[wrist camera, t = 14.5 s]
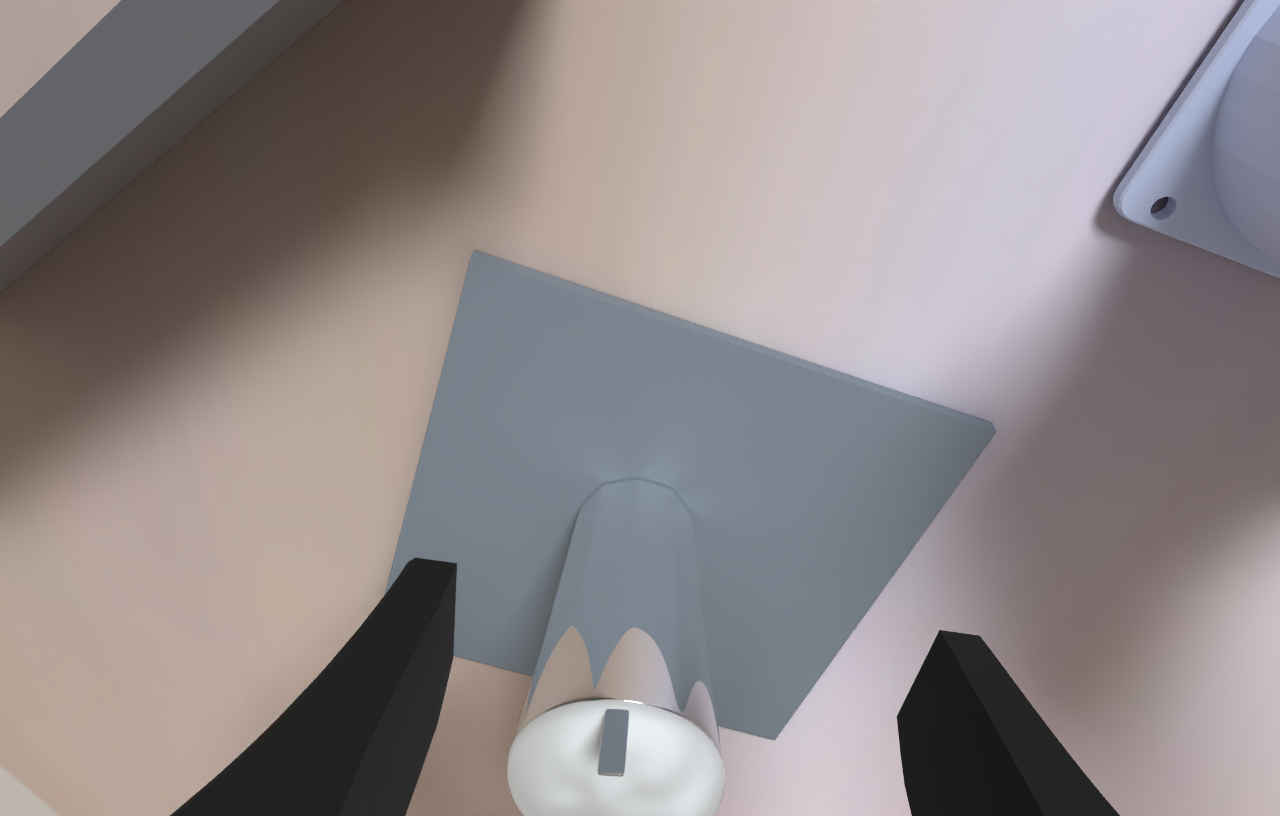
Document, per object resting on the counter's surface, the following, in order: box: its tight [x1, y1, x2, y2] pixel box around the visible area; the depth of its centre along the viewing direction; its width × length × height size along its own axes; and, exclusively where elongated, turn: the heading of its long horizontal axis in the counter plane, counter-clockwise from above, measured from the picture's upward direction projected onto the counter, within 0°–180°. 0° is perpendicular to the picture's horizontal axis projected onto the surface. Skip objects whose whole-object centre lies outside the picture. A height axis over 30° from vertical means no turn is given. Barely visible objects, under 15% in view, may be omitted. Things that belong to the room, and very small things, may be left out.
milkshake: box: [507, 478, 725, 816], centre depth 20 cm, size 4×5×10 cm
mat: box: [385, 250, 996, 741], centre depth 25 cm, size 14×14×1 cm
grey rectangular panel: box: [0, 0, 345, 294], centre depth 16 cm, size 2×20×7 cm, turn 124°
